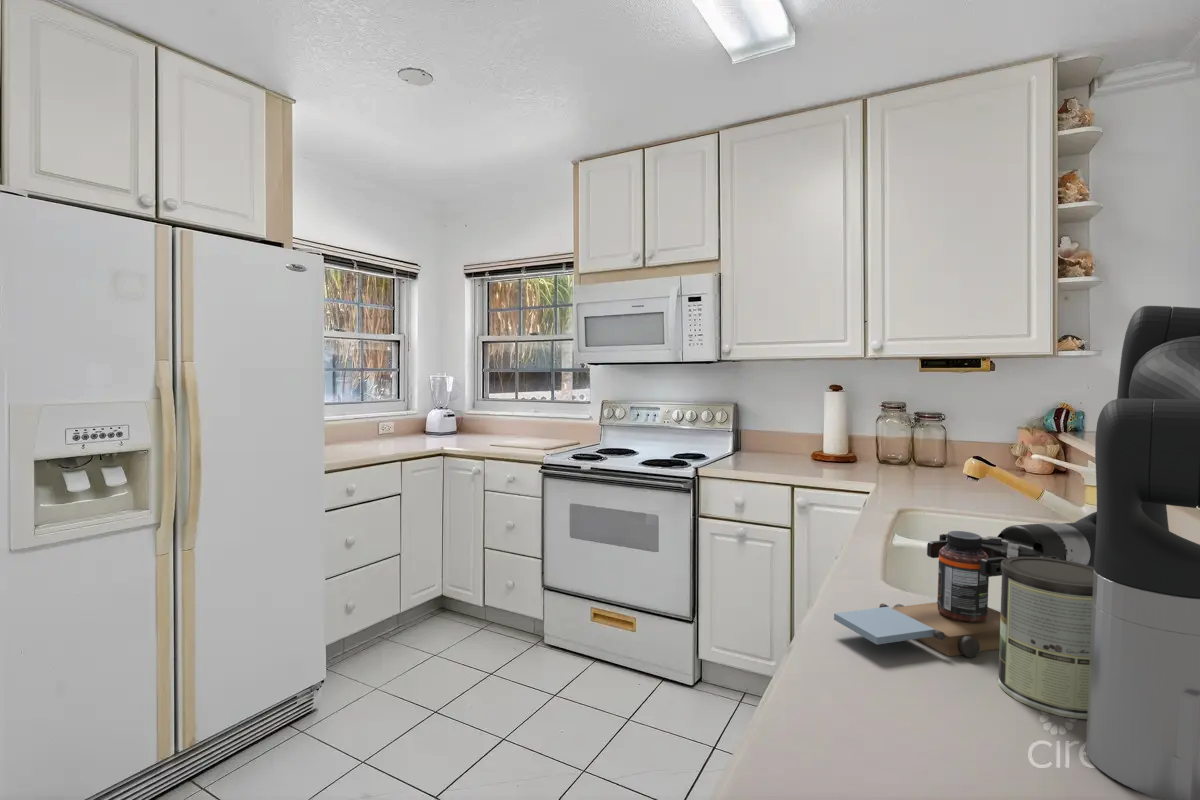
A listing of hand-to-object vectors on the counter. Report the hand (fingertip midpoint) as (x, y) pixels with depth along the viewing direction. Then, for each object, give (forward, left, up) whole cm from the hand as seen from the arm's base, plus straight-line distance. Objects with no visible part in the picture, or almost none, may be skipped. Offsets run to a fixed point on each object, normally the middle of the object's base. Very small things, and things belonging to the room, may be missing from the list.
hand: (954, 558), depth 83 cm
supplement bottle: (0, -2, -8) cm, 8 cm away
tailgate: (+1, +7, -8) cm, 10 cm away
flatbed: (0, -1, -10) cm, 11 cm away
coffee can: (-15, +3, -11) cm, 19 cm away
